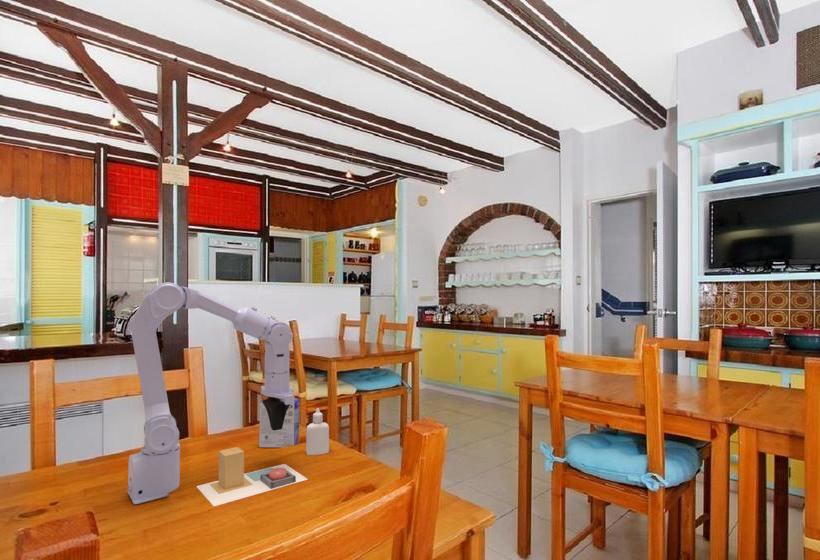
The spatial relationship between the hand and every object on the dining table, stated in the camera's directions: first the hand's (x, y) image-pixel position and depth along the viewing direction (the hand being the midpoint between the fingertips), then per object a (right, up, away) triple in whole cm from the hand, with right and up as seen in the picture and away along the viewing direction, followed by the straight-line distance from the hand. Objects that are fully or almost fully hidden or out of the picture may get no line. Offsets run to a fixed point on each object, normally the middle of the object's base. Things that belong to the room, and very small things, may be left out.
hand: (276, 429), depth 111 cm
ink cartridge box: (-4, -10, +17) cm, 20 cm away
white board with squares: (-2, -9, -10) cm, 14 cm away
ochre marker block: (-7, -8, -11) cm, 15 cm away
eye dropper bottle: (+8, -10, +9) cm, 15 cm away
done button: (+3, -8, -9) cm, 13 cm away
